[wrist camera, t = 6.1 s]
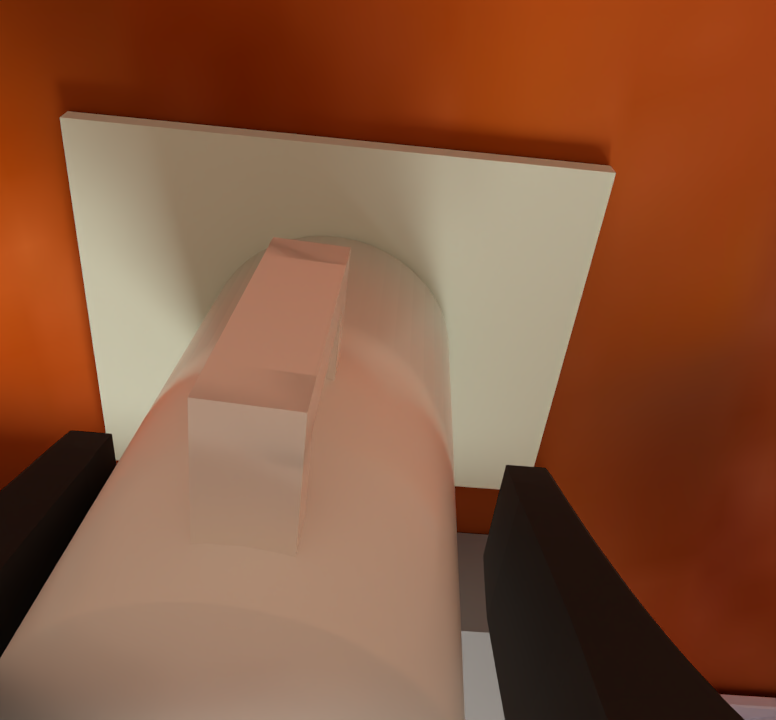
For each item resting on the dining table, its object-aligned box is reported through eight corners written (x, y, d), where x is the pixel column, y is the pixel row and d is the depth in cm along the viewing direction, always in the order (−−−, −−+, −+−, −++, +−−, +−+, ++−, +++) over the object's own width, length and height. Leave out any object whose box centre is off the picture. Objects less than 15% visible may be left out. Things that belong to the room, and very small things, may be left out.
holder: (546, 539, 19) (569, 637, 17) (472, 773, 26) (480, 869, 23) (-78, 493, 18) (-151, 590, 16) (10, 747, 25) (-32, 844, 23)
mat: (610, 165, 14) (615, 173, 13) (524, 479, 18) (526, 491, 18) (67, 111, 13) (59, 117, 13) (115, 448, 18) (109, 459, 17)
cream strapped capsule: (425, 483, 17) (420, 945, 9) (210, 455, 17) (20, 898, 9) (483, 172, 13) (556, 499, 6) (209, 135, 13) (-108, 413, 5)
